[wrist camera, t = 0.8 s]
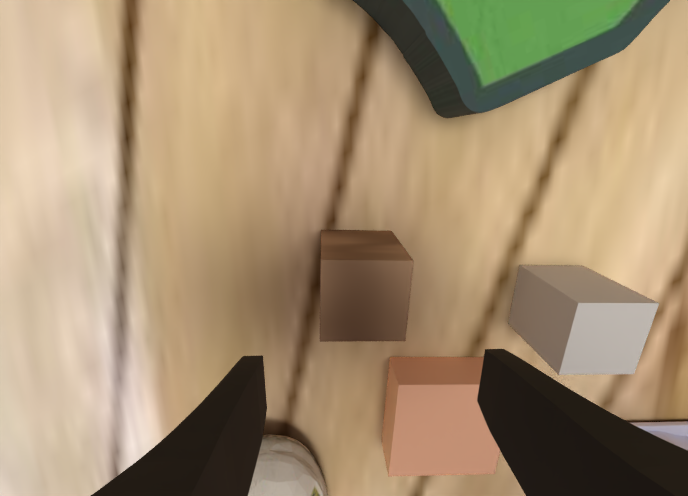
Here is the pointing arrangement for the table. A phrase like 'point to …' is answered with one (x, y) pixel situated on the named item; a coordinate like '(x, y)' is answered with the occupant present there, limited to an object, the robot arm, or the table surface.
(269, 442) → the sneaker
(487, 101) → the emblem
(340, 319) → the walnut block
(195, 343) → the table surface
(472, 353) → the table surface
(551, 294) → the light grey block
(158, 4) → the table surface
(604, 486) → the robot arm
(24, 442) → the table surface
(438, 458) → the terracotta tile
